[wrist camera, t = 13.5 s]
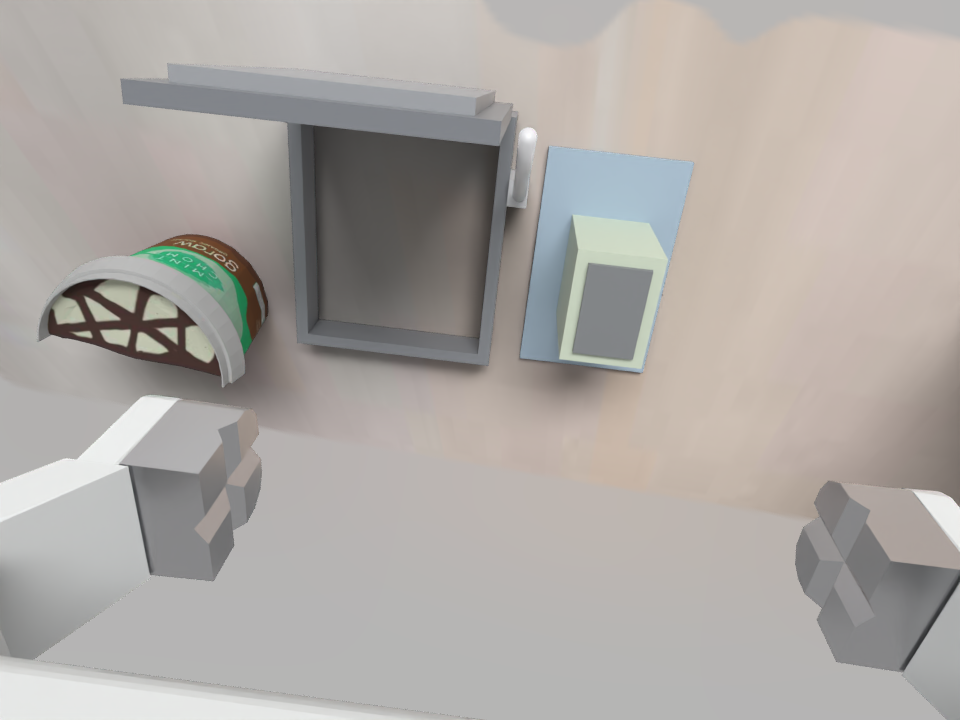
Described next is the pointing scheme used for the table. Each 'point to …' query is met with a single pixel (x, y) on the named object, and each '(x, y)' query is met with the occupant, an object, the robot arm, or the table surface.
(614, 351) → the module
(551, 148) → the mat
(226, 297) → the food container
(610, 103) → the table surface
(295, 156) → the case
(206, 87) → the lid
